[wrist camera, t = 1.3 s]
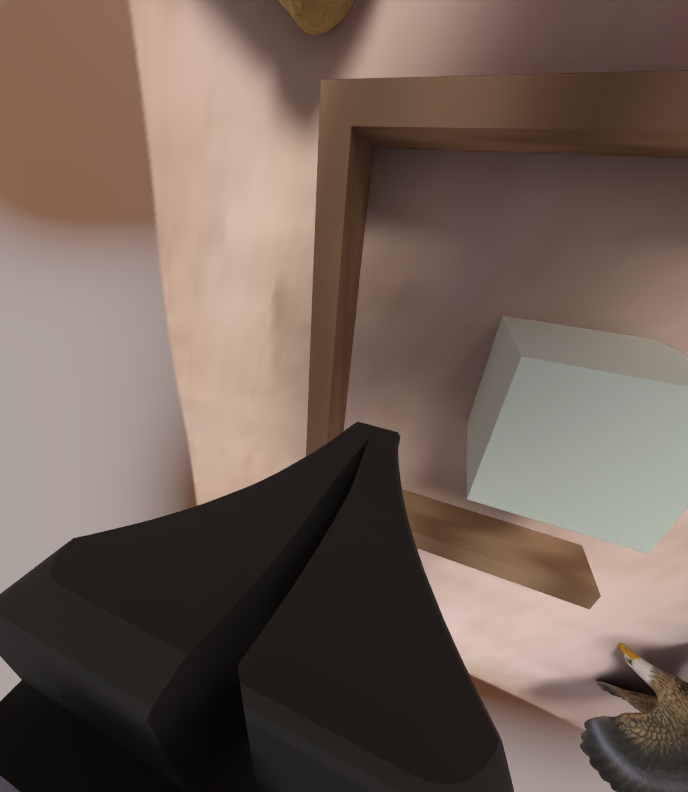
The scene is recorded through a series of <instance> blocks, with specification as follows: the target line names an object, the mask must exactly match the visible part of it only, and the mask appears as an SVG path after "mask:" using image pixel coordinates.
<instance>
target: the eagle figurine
mask: <svg viewBox="0 0 688 792" xmlns="http://www.w3.org/2000/svg"><path fill="white" fill-rule="evenodd" d="M619 647H620V649H621V651H622V653H623V655H624V658H625V660H626V662H627V664H628V665H629V666H630V667H631V668H632V669H633V670H634V671H635V672H636V673H637V674H638V675H639V676H640V677H641V678H642V679H643V680H644V681H645V682H646V683H647V684H648V685H649V686H650V687H651V688H652V689H653V690H654V691H655V693H656V695H657V696H650V695H646V694H642V693H638V692H634V691H628V690H625V689H622V688H620V687H617V686H613V685H611V684H608V683H606V682H602V681H599V680H596V682H597V684H598V686H601V688H602V690H605V691H608V692H609V693H610V694H612V695H614V696H618V697H621V698H622V699H624V700H627V701H628V702H629V703H630V704H631V705H632V706H633V707H634V708H636V709H637V710H639V711H640V712H642V713H623V714H620V715H619V716H616V717H606V716H603V717H595V718H592V719H589V720H587V721H586V722H585V728H586V731H585V732H584V733H582V735H581V737H582V740H583V743H581V744H580V746H581V749H582V750H583V752H584V753H585V754H586V755H587V756H589V758H590V764H591V766H592V767H593V768H594V769H596V770H597V771H598V772H599V774H600V776H601V778H602V779H603V780H604V781H607V782H608V783H610V785H611V788H612V789H613V790H614V791H616V792H688V683H686V682H685V681H683V680H681V679H679V678H678V677H676V676H674V675H671V674H670V673H668V672H666V671H663V670H661V669H659V668H657V667H655V666H654V665H652V664H650V663H648V662H647V661H645V660H644V659H642V658H641V657H639V656H638V655H636V654H634V653H633V652H631V651H630V650H629V649H628V648H627V647H626V646H625V645H624V644H623V643H619Z"/></svg>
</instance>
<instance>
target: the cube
mask: <svg viewBox="0 0 688 792" xmlns="http://www.w3.org/2000/svg"><path fill="white" fill-rule="evenodd" d="M467 500H471V501H474V502H477V503H481V504H484V505H487V506H491V507H494V508H497V509H500V510H504V511H507V512H510V513H514V514H517V515H520V516H524V517H527V518H530V519H534V520H537V521H540V522H543V523H547V524H550V525H553V526H557V527H560V528H563V529H567V530H570V531H573V532H577V533H580V534H583V535H587V536H590V537H593V538H596V539H600V540H603V541H606V542H610V543H613V544H616V545H620V546H623V547H626V548H630V549H633V550H636V551H639V552H643V553H646V554H648V553H649V552H650V551H651V550H652V549H653V548H654V546H655V545H656V544H657V543H658V542H659V541H660V540H661V538H662V537H663V536H664V535H665V534H666V533H667V531H668V530H669V529H670V528H671V527H672V526H673V524H674V523H675V522H676V521H677V520H678V519H679V518H680V516H681V515H682V514H683V513H684V512H685V511H686V509H687V508H688V355H686V354H684V353H682V352H680V351H678V350H676V349H674V348H672V347H671V346H669V345H667V344H665V343H663V342H661V341H659V340H656V339H650V338H643V337H637V336H631V335H624V334H618V333H611V332H605V331H598V330H592V329H586V328H579V327H573V326H566V325H560V324H554V323H547V322H541V321H534V320H528V319H521V318H515V317H509V316H502V318H501V321H500V324H499V328H498V331H497V334H496V337H495V340H494V343H493V346H492V349H491V352H490V355H489V358H488V361H487V364H486V367H485V370H484V373H483V376H482V379H481V382H480V385H479V388H478V391H477V394H476V397H475V400H474V403H473V407H472V410H471V413H470V416H469V419H468V422H467Z"/></svg>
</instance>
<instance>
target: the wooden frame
mask: <svg viewBox="0 0 688 792" xmlns="http://www.w3.org/2000/svg"><path fill="white" fill-rule="evenodd" d="M373 147H377V148H408V149H439V150H470V151H501V152H532V153H563V154H594V155H625V156H656V157H687V158H688V70H677V71H638V72H599V73H560V74H521V75H482V76H443V77H404V78H365V79H326V80H321V89H320V114H319V140H318V166H317V192H316V218H315V244H314V269H313V295H312V321H311V347H310V373H309V399H308V424H307V450H306V456H308V455H310V454H311V453H313V452H314V451H316V450H317V449H319V448H320V447H322V446H323V445H325V444H326V443H328V442H329V441H331V440H332V439H334V438H335V437H337V436H338V435H339V434H341V433H342V432H343V429H344V419H345V410H346V400H347V391H348V381H349V372H350V362H351V353H352V344H353V334H354V325H355V315H356V306H357V296H358V287H359V277H360V268H361V258H362V249H363V239H364V230H365V220H366V211H367V201H368V192H369V182H370V173H371V163H372V154H373ZM402 493H403V498H404V503H405V508H406V512H407V516H408V520H409V524H410V528H411V531H412V535H413V538H414V541H415V545H416V548H418V549H421V550H424V551H427V552H430V553H432V554H435V555H438V556H441V557H444V558H446V559H449V560H452V561H455V562H458V563H461V564H463V565H466V566H469V567H472V568H475V569H477V570H480V571H483V572H486V573H489V574H492V575H494V576H497V577H500V578H503V579H506V580H508V581H511V582H514V583H517V584H520V585H522V586H525V587H528V588H531V589H534V590H537V591H539V592H542V593H545V594H548V595H551V596H553V597H556V598H559V599H562V600H565V601H568V602H570V603H573V604H576V605H579V606H582V607H584V608H587V609H590V608H591V607H592V606H593V605H594V603H595V602H596V601H597V600H598V599H599V597H600V593H599V590H598V587H597V585H596V582H595V579H594V577H593V574H592V571H591V569H590V566H589V563H588V561H587V558H586V555H585V553H584V550H583V547H582V546H580V545H577V544H574V543H571V542H568V541H564V540H561V539H558V538H555V537H552V536H548V535H545V534H542V533H539V532H536V531H532V530H529V529H526V528H523V527H520V526H516V525H513V524H510V523H507V522H504V521H500V520H497V519H494V518H491V517H487V516H484V515H481V514H478V513H475V512H471V511H468V510H465V509H462V508H459V507H455V506H452V505H449V504H446V503H443V502H439V501H436V500H433V499H430V498H427V497H423V496H420V495H417V494H414V493H411V492H407V491H404V490H402Z"/></svg>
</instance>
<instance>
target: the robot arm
mask: <svg viewBox="0 0 688 792" xmlns="http://www.w3.org/2000/svg"><path fill="white" fill-rule="evenodd" d="M399 441H400V435H399V434H398V432H394V431H391V430H387V429H383V428H379V427H375V426H372V425H368V424H364V423H360V422H357V423H355V424H353V425H352V426H350V427H349V428H348V429H346V430H345V431H343V432H342V433H341V434H339V435H338V436H337V437H335V438H334V439H332V440H331V441H329V442H328V443H326V444H325V445H323V446H322V447H320V448H319V449H317V450H316V451H314V452H313V453H311V454H310V455H308V456H306V457H305V458H303V459H301V460H299V461H298V462H296V463H294V464H293V465H291V466H289V467H287V468H286V469H284V470H282V471H280V472H278V473H276V474H274V475H272V476H270V477H268V478H266V479H264V480H262V481H260V482H258V483H256V484H253V485H251V486H249V487H246V488H244V489H241V490H239V491H236V492H234V493H231V494H228V495H226V496H223V497H221V498H218V499H215V500H213V501H210V502H207V503H205V504H202V505H199V506H195V507H193V508H189V509H186V510H183V511H180V512H177V513H173V514H170V515H166V516H163V517H160V518H156V519H153V520H149V521H145V522H141V523H137V524H133V525H129V526H125V527H121V528H117V529H113V530H108V531H104V532H100V533H96V534H92V535H87V536H82V537H78V538H73V539H72V540H71V541H69V542H68V543H67V544H65V545H64V546H63V547H61V548H60V549H59V550H57V551H56V552H55V553H53V554H52V555H51V556H50V557H48V558H47V559H45V560H44V561H43V562H42V563H40V564H39V565H38V566H36V567H35V568H34V569H32V570H31V571H30V572H29V573H27V574H26V575H25V576H23V577H22V578H21V579H19V580H18V581H17V582H15V583H14V584H13V585H12V586H10V587H9V588H8V589H6V590H5V591H4V592H2V593H1V594H0V656H1V657H2V658H3V659H4V660H5V662H6V663H7V664H8V665H9V666H10V667H11V668H12V669H13V671H14V672H15V673H16V674H17V675H18V676H19V677H20V678H21V679H22V681H21V682H20V683H19V684H18V685H17V686H15V687H14V688H13V689H12V690H11V692H10V693H8V694H7V695H6V697H4V698H3V700H1V701H0V792H514V789H513V785H512V781H511V777H510V772H509V768H508V764H507V759H506V756H505V752H504V748H503V744H502V740H501V738H500V736H499V734H498V732H497V730H496V727H495V726H494V724H493V722H492V720H491V718H490V716H489V714H488V712H487V710H486V708H485V706H484V704H483V702H482V700H481V698H480V696H479V694H478V692H477V690H476V688H475V686H474V684H473V682H472V680H471V678H470V675H469V673H468V671H467V669H466V667H465V665H464V663H463V661H462V659H461V657H460V654H459V652H458V650H457V648H456V646H455V643H454V641H453V639H452V637H451V634H450V632H449V630H448V628H447V626H446V623H445V621H444V619H443V616H442V614H441V611H440V609H439V606H438V604H437V601H436V599H435V596H434V594H433V591H432V589H431V586H430V584H429V581H428V579H427V576H426V574H425V571H424V568H423V566H422V563H421V560H420V557H419V554H418V551H417V548H416V545H415V541H414V538H413V535H412V531H411V528H410V524H409V520H408V516H407V512H406V508H405V503H404V498H403V493H402V488H401V481H400V473H399V464H398V445H399Z"/></svg>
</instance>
